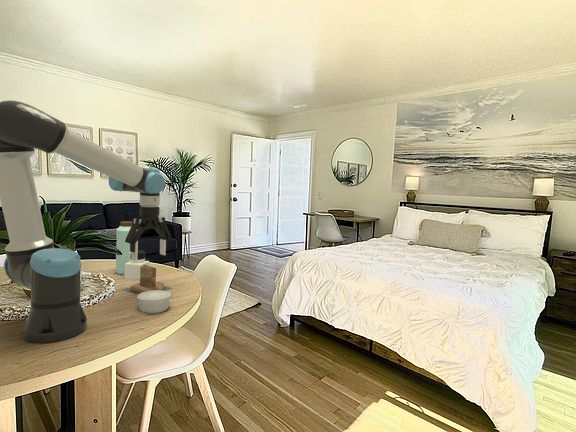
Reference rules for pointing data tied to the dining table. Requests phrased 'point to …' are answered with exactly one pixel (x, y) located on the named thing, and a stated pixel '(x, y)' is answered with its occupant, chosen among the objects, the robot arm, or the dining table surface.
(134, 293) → the mat
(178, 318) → the dining table surface
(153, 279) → the lid
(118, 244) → the water bottle
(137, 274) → the container
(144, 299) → the ramekin
